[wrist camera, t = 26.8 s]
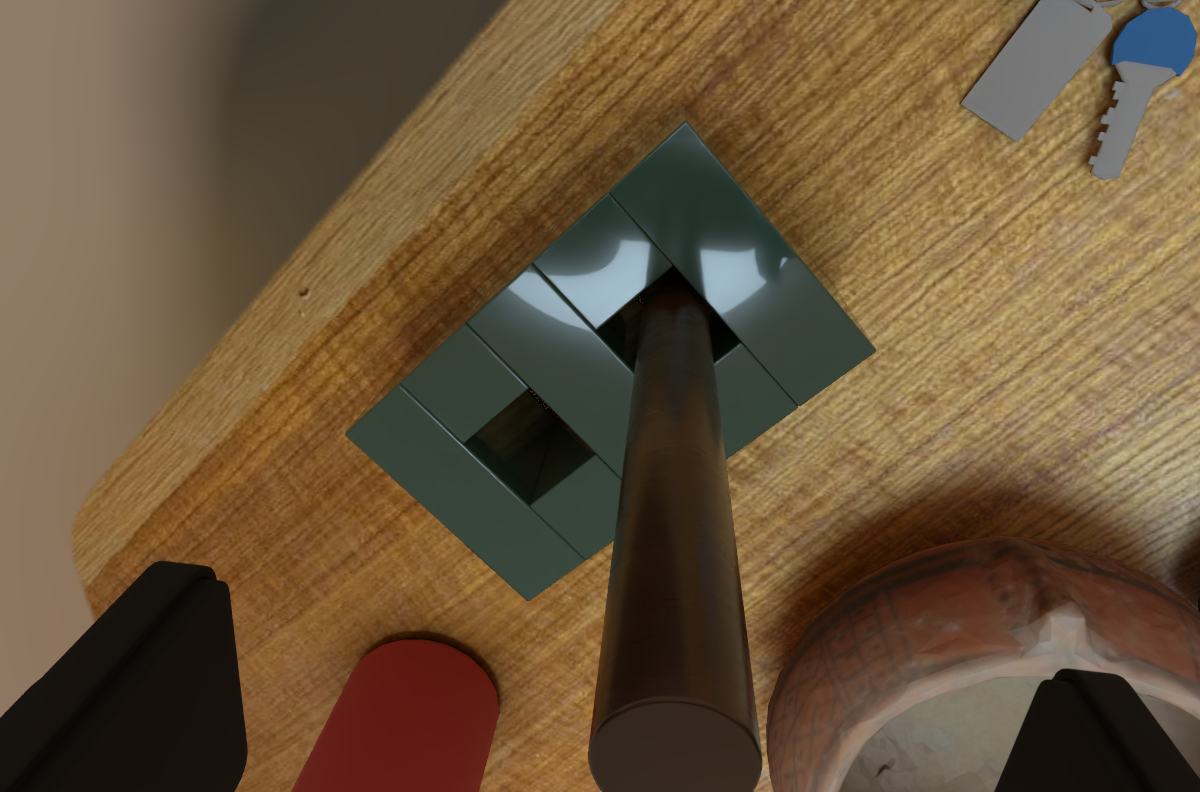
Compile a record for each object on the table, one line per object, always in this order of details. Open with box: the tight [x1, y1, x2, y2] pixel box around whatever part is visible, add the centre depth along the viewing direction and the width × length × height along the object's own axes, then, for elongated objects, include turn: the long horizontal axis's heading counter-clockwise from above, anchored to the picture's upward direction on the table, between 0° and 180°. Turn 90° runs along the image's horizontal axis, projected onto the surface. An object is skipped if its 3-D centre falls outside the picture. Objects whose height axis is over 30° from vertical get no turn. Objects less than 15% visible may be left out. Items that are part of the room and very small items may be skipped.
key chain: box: [960, 0, 1197, 180], centre depth 22 cm, size 14×8×1 cm, turn 109°
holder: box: [345, 103, 876, 601], centre depth 25 cm, size 13×8×6 cm, turn 133°
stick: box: [588, 265, 762, 792], centre depth 17 cm, size 2×2×20 cm
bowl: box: [766, 536, 1200, 792], centre depth 27 cm, size 16×16×10 cm
